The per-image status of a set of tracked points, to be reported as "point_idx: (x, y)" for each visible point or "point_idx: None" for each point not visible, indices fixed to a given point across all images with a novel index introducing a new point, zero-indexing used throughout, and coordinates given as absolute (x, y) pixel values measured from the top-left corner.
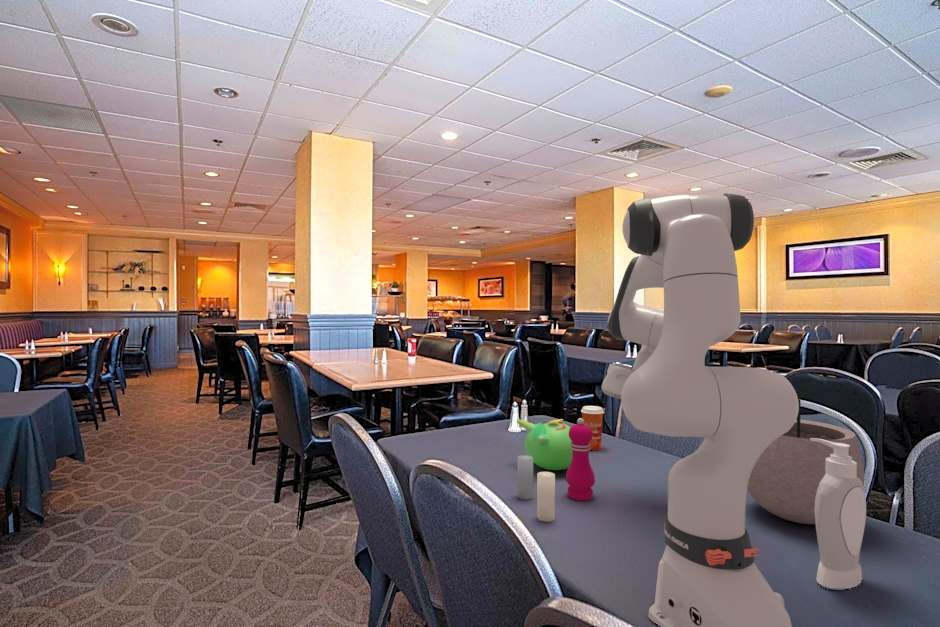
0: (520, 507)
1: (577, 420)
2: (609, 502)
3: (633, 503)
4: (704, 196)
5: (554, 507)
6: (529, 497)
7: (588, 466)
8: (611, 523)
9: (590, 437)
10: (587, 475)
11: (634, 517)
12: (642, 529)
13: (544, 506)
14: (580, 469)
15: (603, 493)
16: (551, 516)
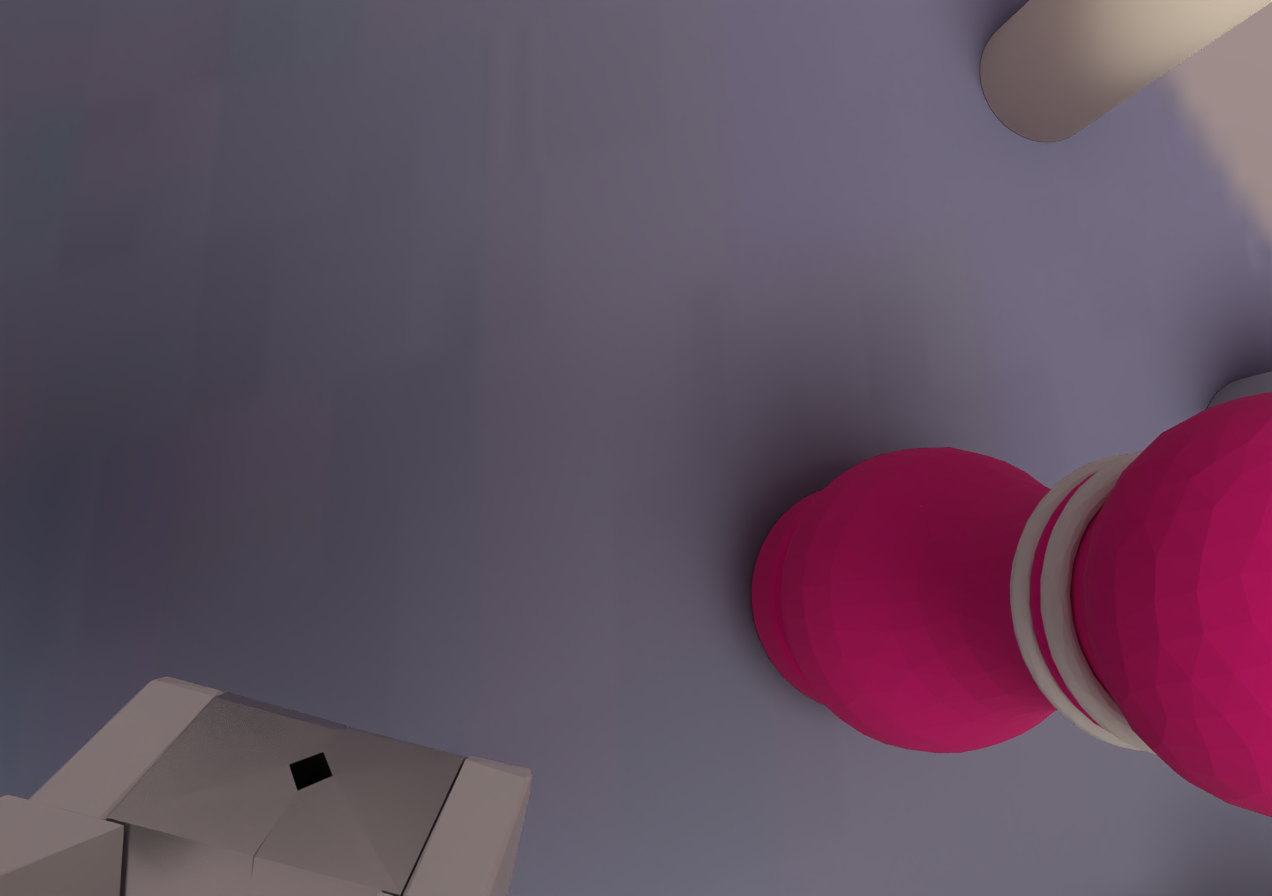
0: (1237, 224)
1: None
2: (599, 520)
3: (381, 561)
4: None
5: (1030, 18)
6: (1228, 389)
7: (917, 534)
8: (576, 86)
9: (1127, 488)
10: (884, 483)
11: (389, 242)
12: (337, 26)
13: None
14: (985, 474)
15: (659, 734)
16: (1013, 16)
